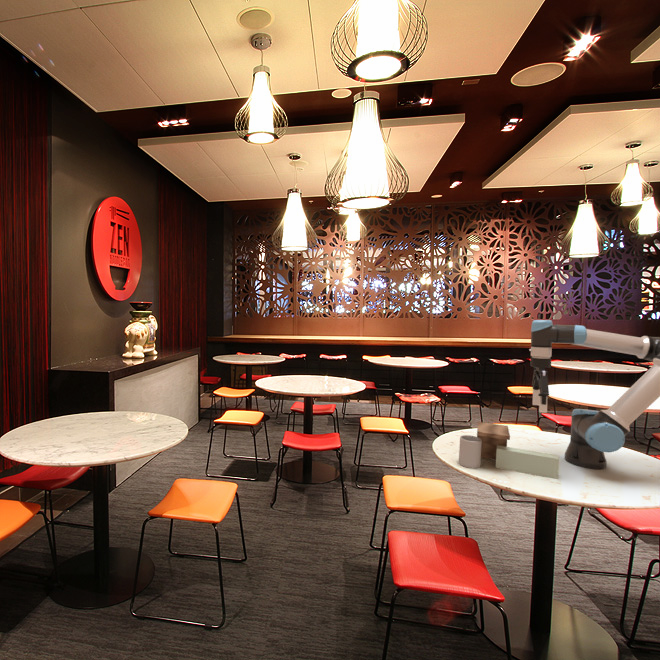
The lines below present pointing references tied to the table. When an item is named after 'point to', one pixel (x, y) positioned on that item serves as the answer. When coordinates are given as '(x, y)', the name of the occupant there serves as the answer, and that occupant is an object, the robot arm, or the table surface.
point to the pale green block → (527, 461)
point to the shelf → (492, 438)
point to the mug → (470, 451)
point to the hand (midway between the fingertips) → (539, 408)
